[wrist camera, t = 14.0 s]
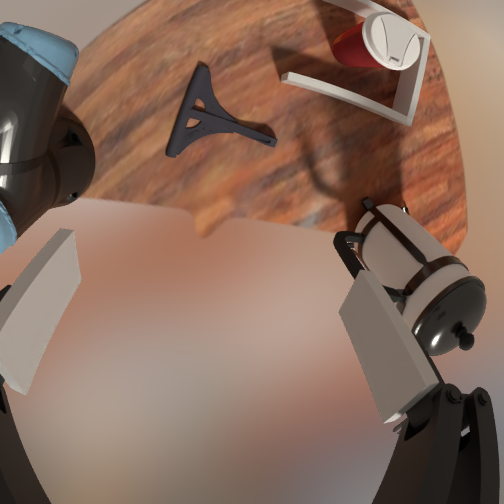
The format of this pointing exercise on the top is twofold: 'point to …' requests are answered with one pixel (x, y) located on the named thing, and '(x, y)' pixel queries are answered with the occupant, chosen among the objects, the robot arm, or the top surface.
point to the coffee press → (416, 276)
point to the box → (408, 81)
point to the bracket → (206, 117)
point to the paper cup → (378, 43)
